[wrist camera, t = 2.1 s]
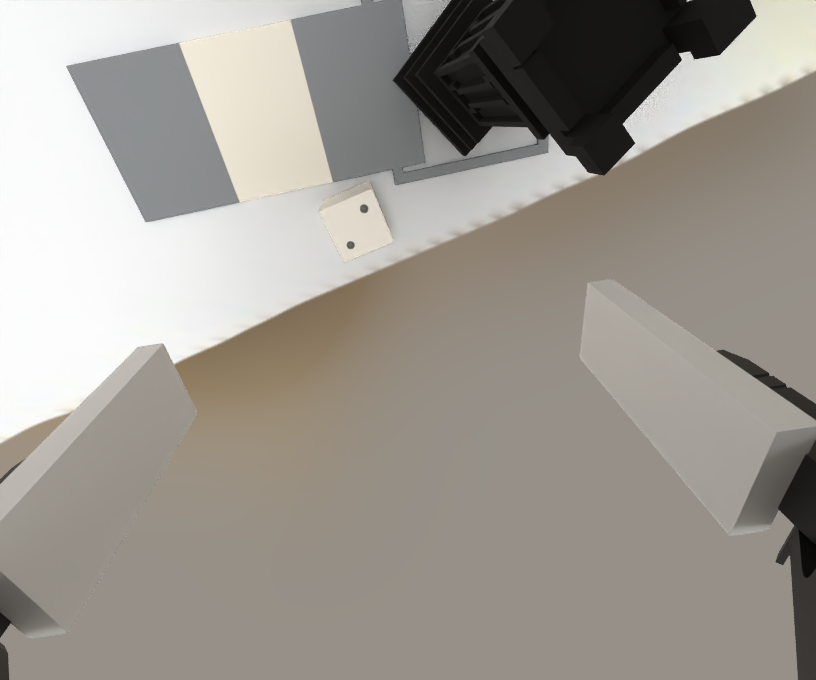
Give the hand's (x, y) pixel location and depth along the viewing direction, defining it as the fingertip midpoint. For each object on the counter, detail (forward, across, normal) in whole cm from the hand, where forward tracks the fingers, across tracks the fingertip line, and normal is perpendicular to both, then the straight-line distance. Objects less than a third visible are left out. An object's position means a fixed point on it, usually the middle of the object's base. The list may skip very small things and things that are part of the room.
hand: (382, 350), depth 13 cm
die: (+26, -2, -1) cm, 26 cm away
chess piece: (+26, +8, +8) cm, 29 cm away
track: (+26, -8, +7) cm, 28 cm away
